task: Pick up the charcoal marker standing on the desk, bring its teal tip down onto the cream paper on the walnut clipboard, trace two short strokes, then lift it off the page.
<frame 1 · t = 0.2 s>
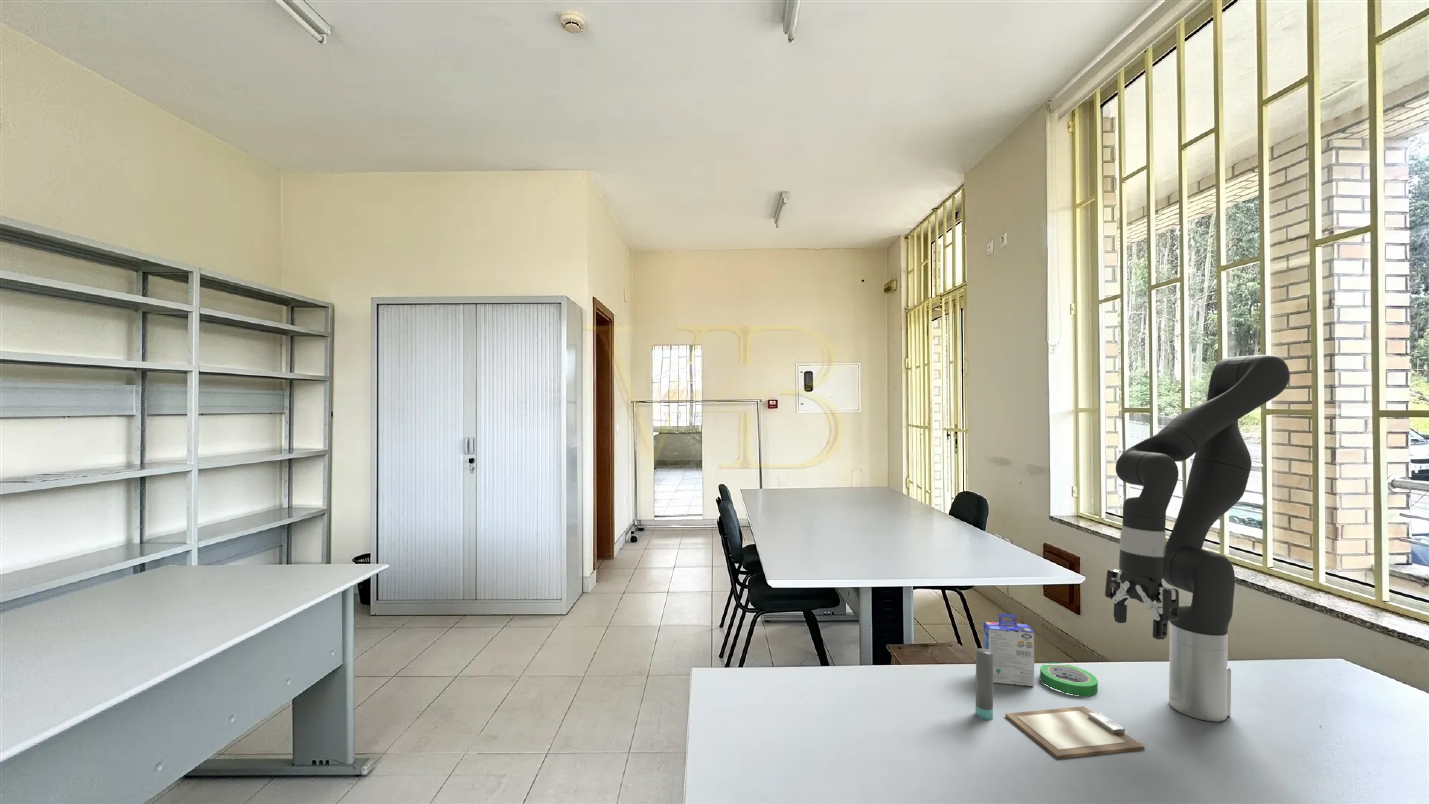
hand: (1138, 630, 118), 17 cm above the table, tool pointing down, fingers open, 8 cm apart
clipboard: (1071, 732, 112), on the table
marker: (984, 715, 118), on the table
tape roll: (1068, 686, 131), on the table
ink cartridge box: (1008, 680, 133), on the table
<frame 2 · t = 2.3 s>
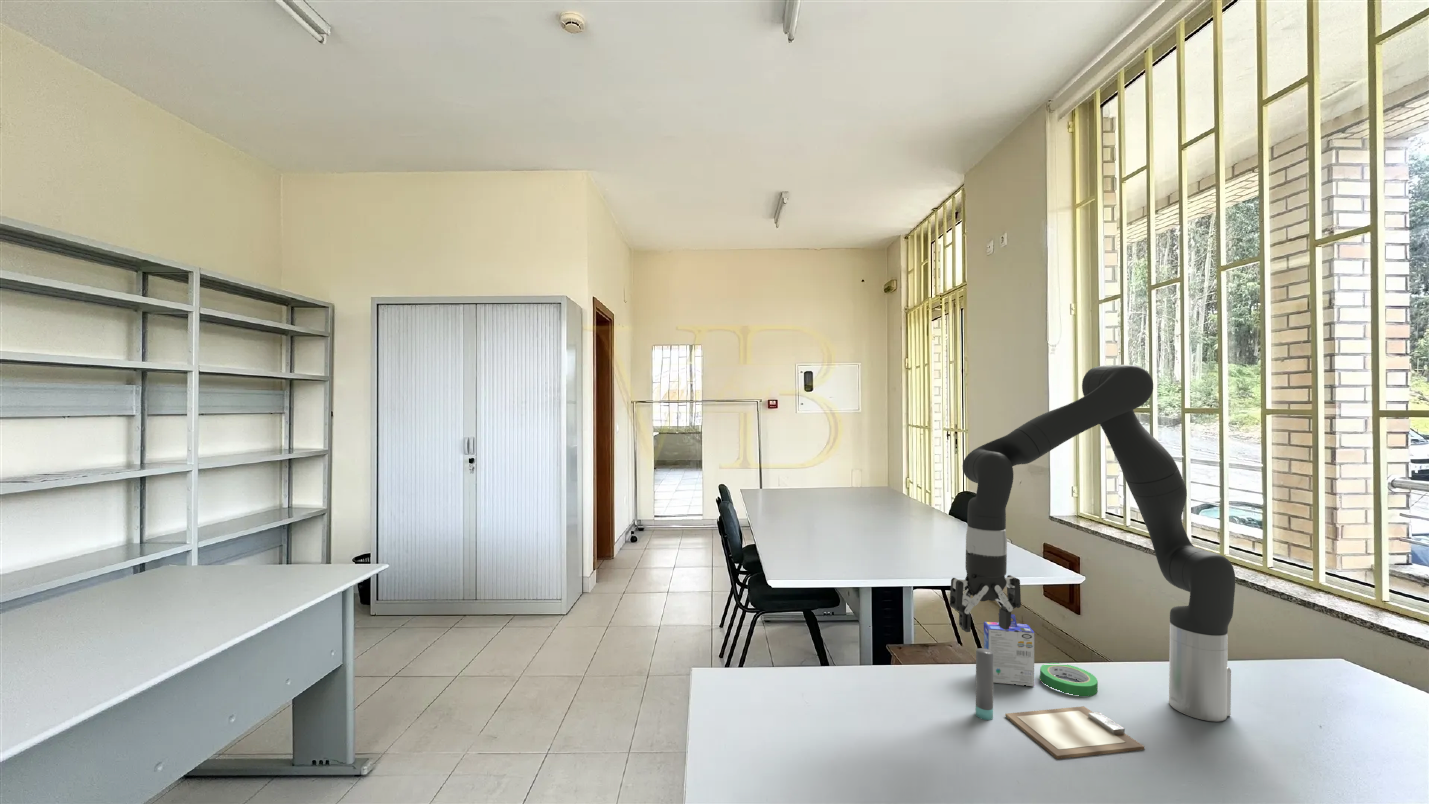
hand: (984, 629, 117), 17 cm above the table, tool pointing down, fingers open, 8 cm apart
nothing on the table moved.
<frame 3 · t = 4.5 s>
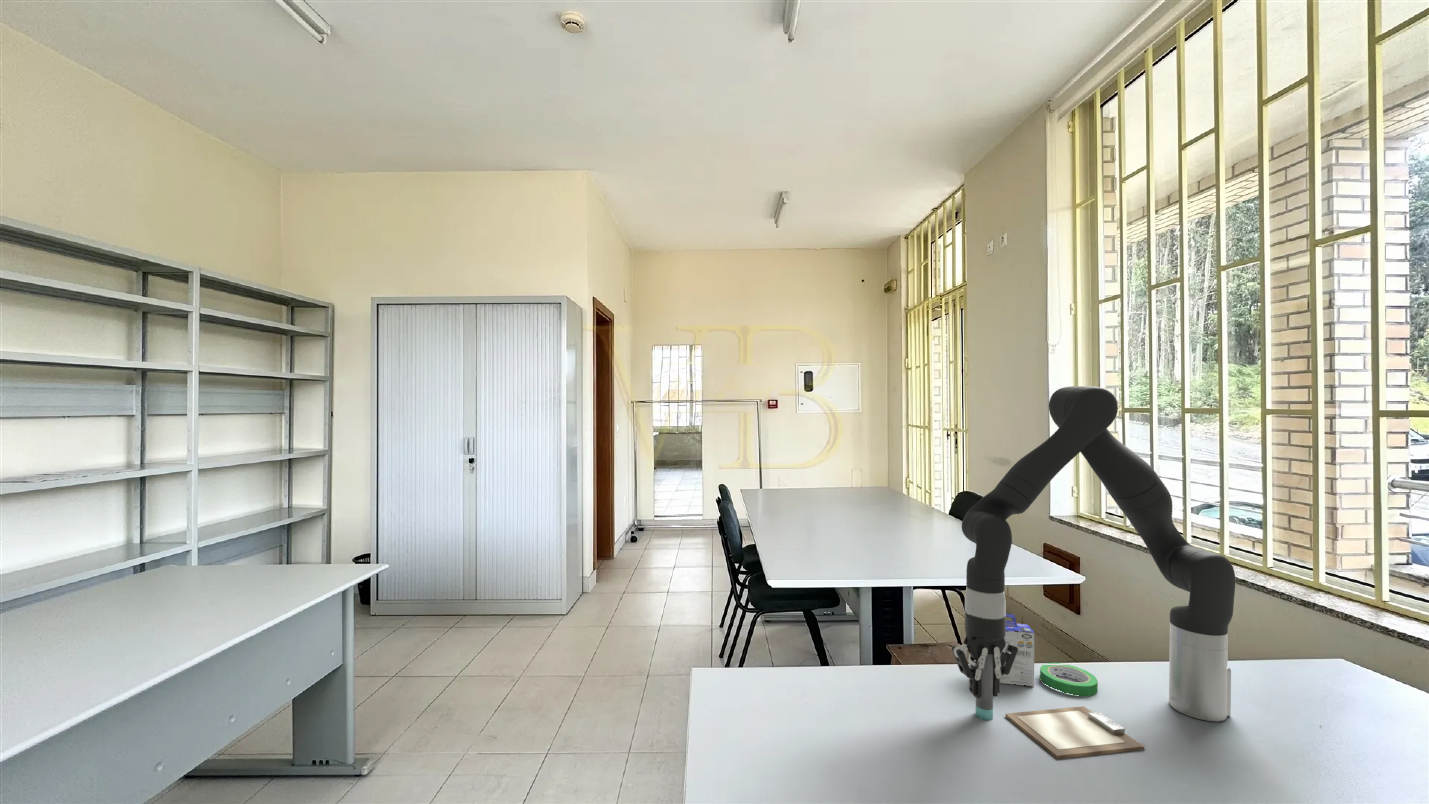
hand: (984, 695, 118), 4 cm above the table, tool pointing down, fingers closed on marker, 3 cm apart
marker: (984, 715, 118), on the table, touching gripper
everything else where it was.
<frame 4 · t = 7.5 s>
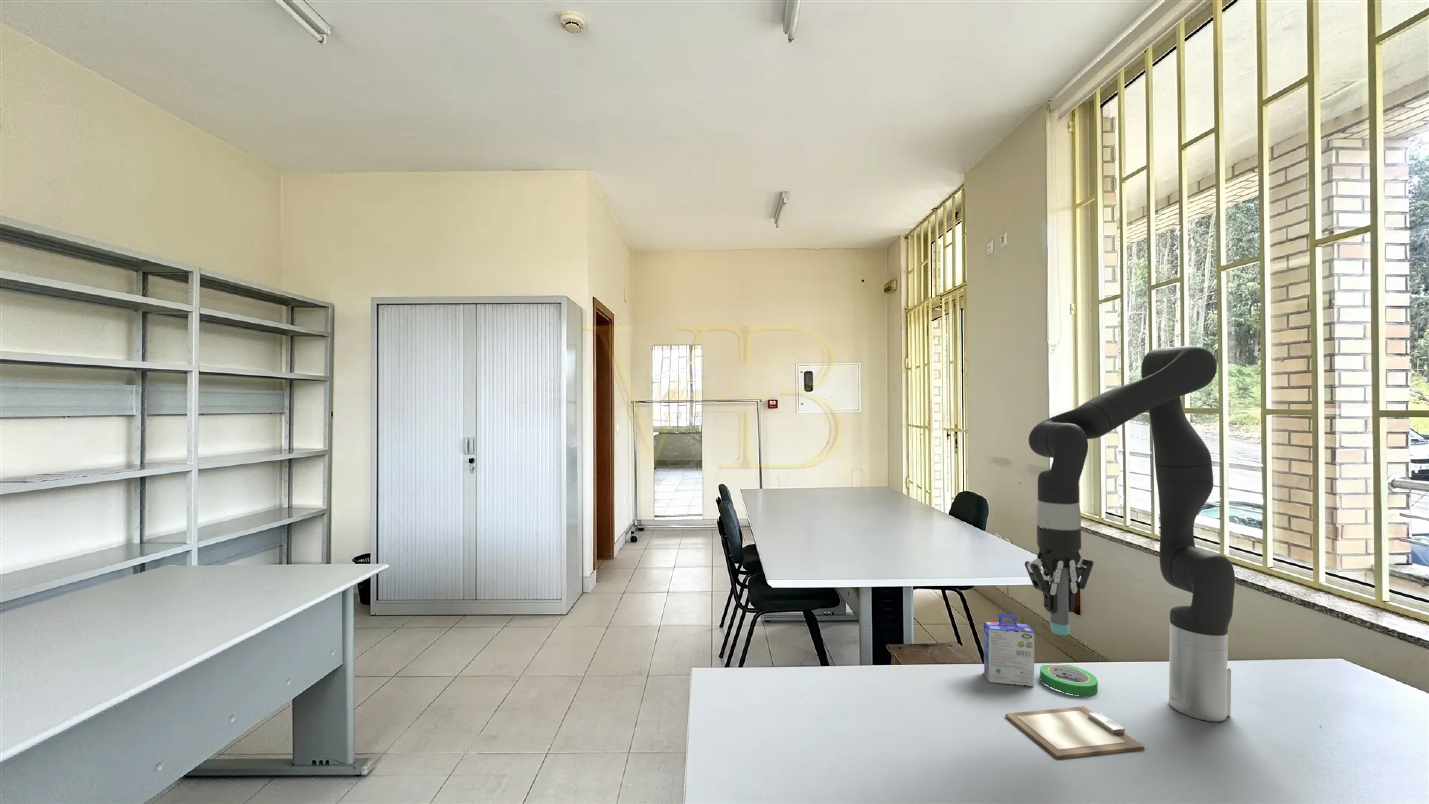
hand: (1059, 610, 114), 22 cm above the table, tool pointing down, fingers closed on marker, 3 cm apart
marker: (1059, 632, 115), point 18 cm above the table, touching gripper
everything else where it was.
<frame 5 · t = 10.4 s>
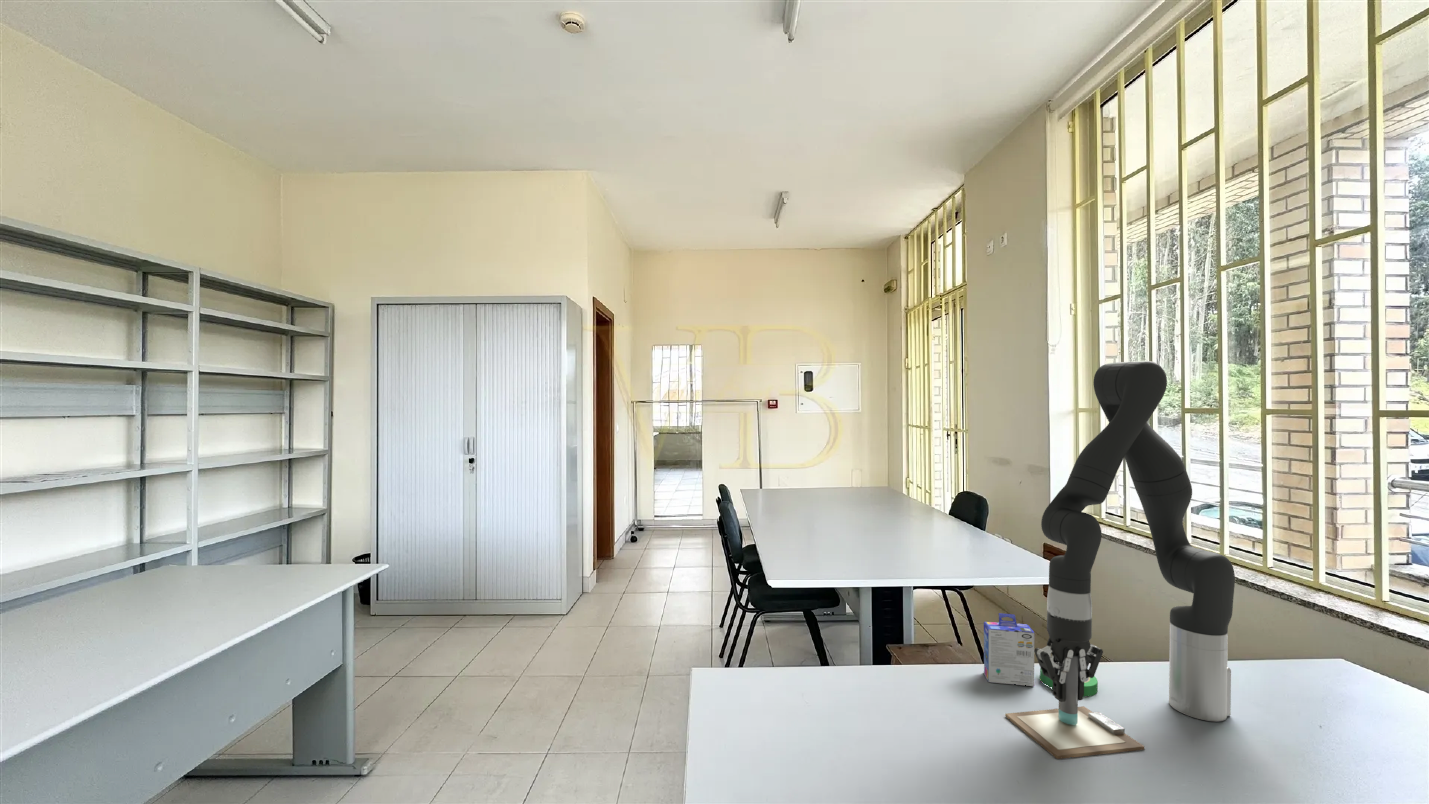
hand: (1068, 698, 114), 5 cm above the table, tool pointing down, fingers closed on marker, 3 cm apart
marker: (1067, 720, 114), point 1 cm above the table, touching gripper
everything else where it was.
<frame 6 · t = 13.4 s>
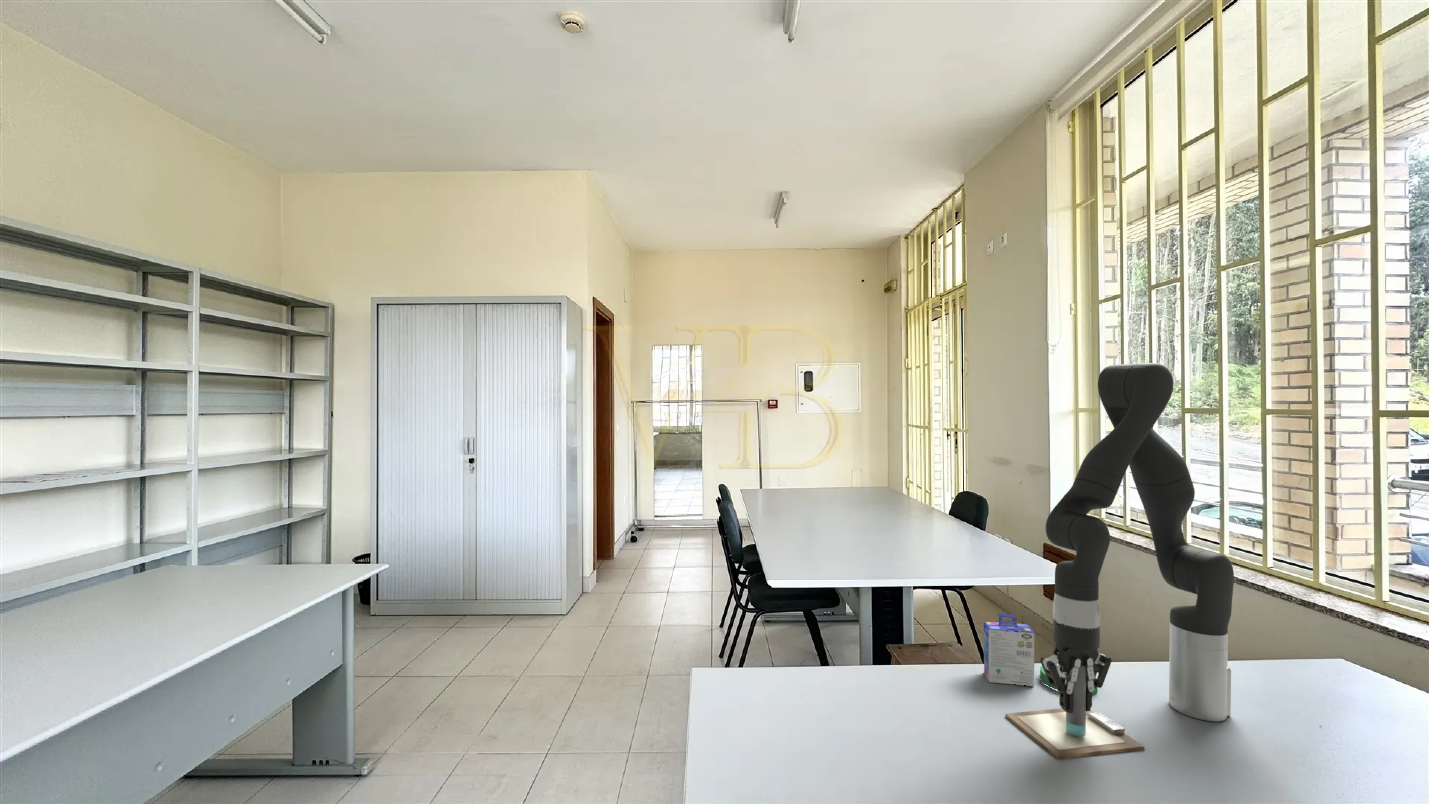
hand: (1075, 709, 110), 5 cm above the table, tool pointing down, fingers closed on marker, 3 cm apart
marker: (1075, 731, 110), point 1 cm above the table, touching gripper
everything else where it was.
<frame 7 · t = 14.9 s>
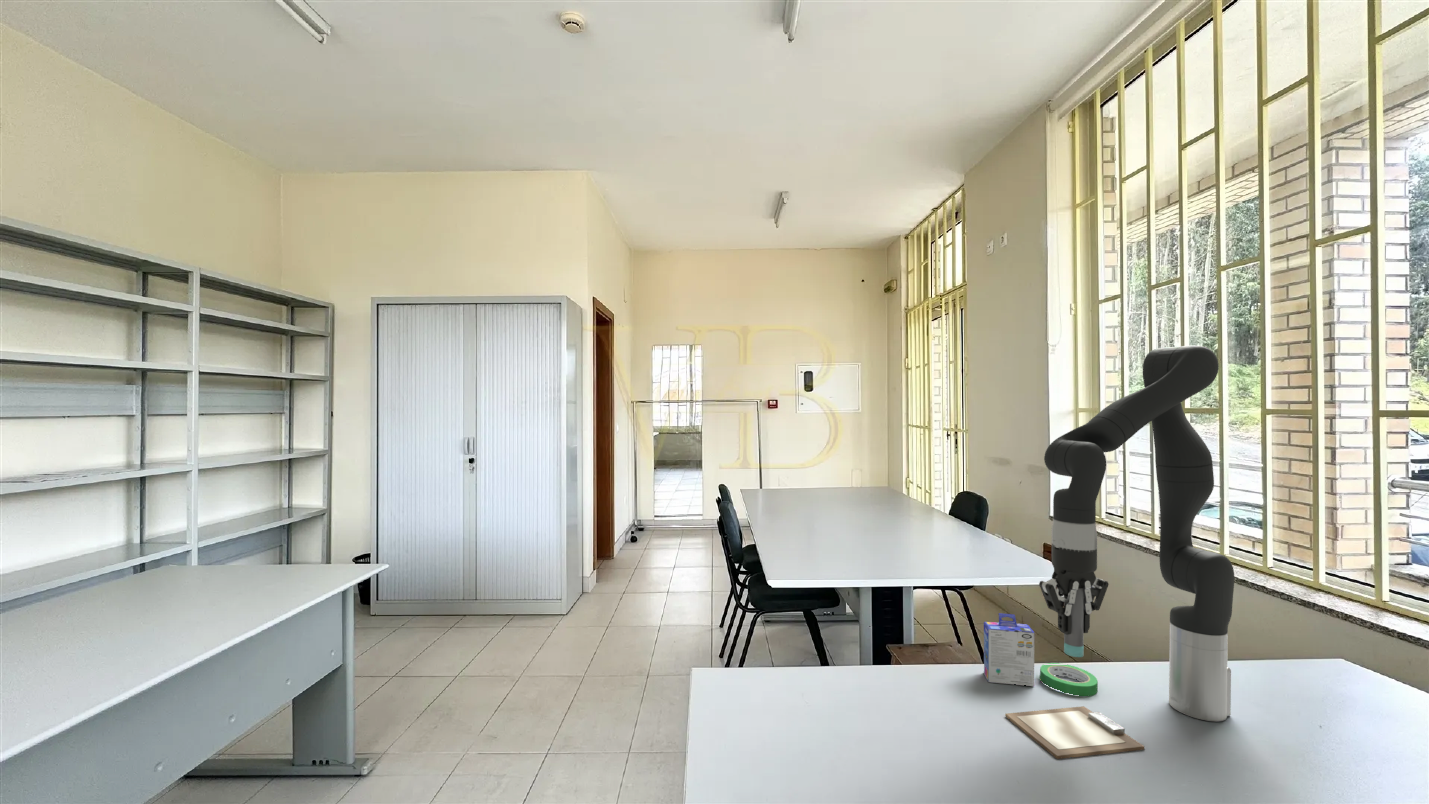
hand: (1073, 631, 113), 19 cm above the table, tool pointing down, fingers closed on marker, 3 cm apart
marker: (1073, 653, 113), point 15 cm above the table, touching gripper
everything else where it was.
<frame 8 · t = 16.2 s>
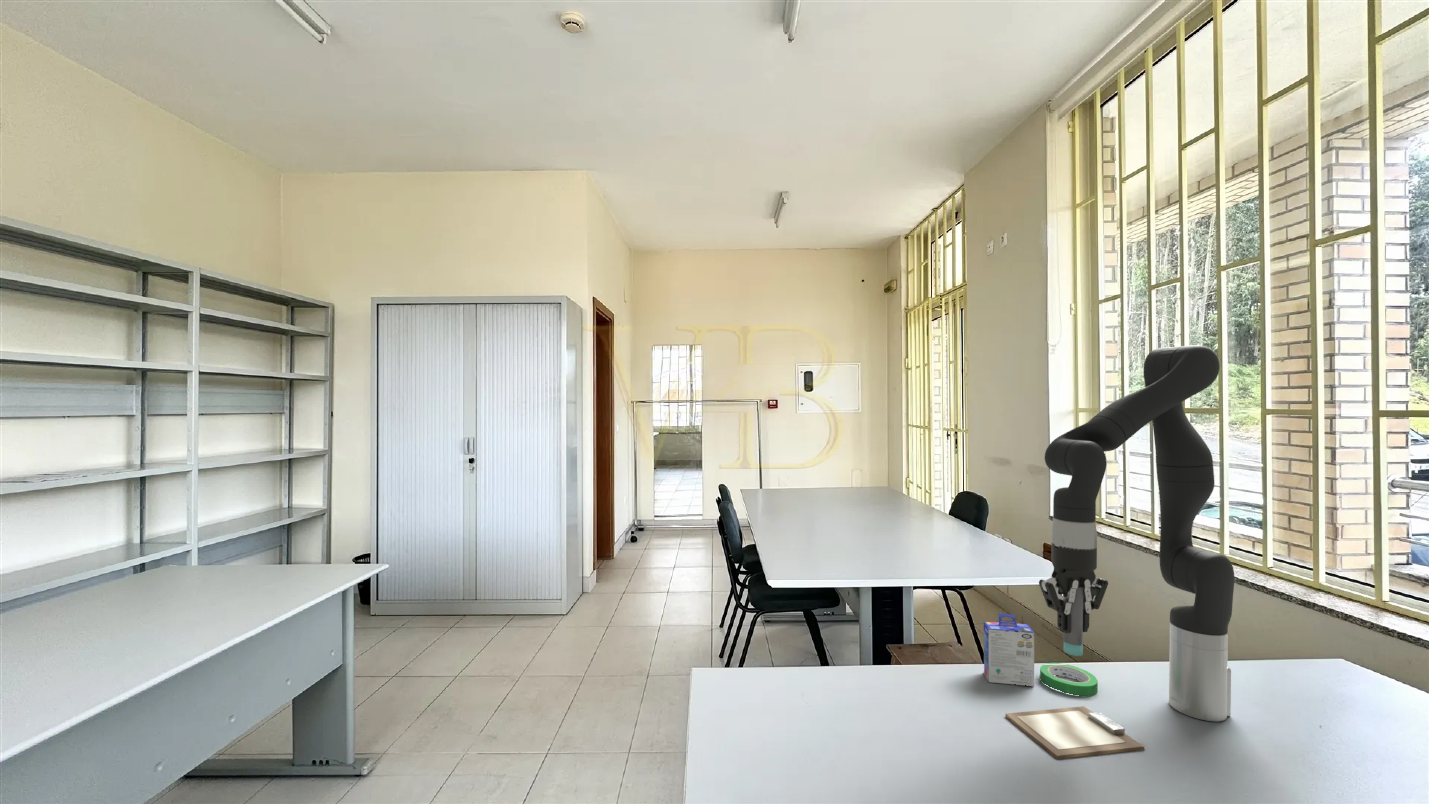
hand: (1073, 630, 113), 19 cm above the table, tool pointing down, fingers closed on marker, 3 cm apart
marker: (1073, 652, 113), point 15 cm above the table, touching gripper
everything else where it was.
at the end: the gripper is holding marker; marker inside the target area on the clipboard (1.5 cm from its centre), point 14.9 cm above the clipboard's base; marker moved 21.7 cm from its start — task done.
